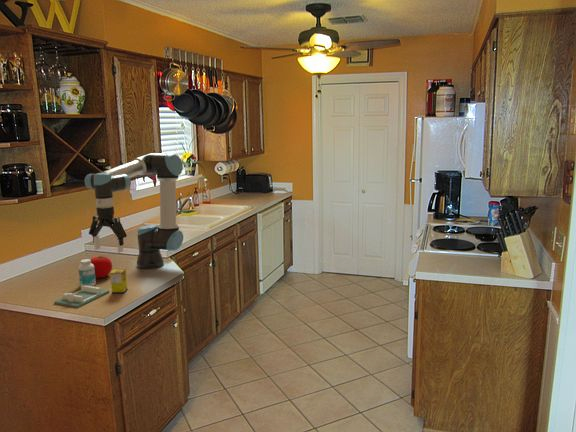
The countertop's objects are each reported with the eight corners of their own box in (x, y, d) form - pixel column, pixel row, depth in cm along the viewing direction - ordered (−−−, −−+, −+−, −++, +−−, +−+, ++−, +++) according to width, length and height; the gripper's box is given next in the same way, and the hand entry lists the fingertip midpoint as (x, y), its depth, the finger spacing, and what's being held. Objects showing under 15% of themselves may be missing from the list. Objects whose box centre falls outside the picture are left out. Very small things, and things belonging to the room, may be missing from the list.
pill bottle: (80, 284, 242) (77, 259, 239) (95, 282, 245) (93, 257, 242) (80, 288, 235) (77, 263, 232) (95, 286, 238) (93, 261, 235)
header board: (86, 288, 235) (86, 280, 234) (109, 292, 230) (108, 283, 229) (54, 303, 217) (53, 294, 216) (77, 307, 212) (76, 298, 211)
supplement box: (127, 289, 235) (125, 268, 232) (124, 293, 229) (122, 272, 227) (115, 289, 235) (113, 268, 232) (111, 293, 229) (109, 272, 226)
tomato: (81, 278, 250) (79, 258, 248) (102, 271, 262) (100, 251, 260) (98, 282, 245) (96, 261, 242) (118, 274, 257) (116, 254, 254)
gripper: (77, 206, 218) (82, 250, 222) (121, 209, 209) (125, 255, 214) (89, 203, 225) (94, 246, 229) (132, 206, 216) (135, 250, 221)
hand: (109, 250), depth 221 cm, fingers open, 13 cm apart
